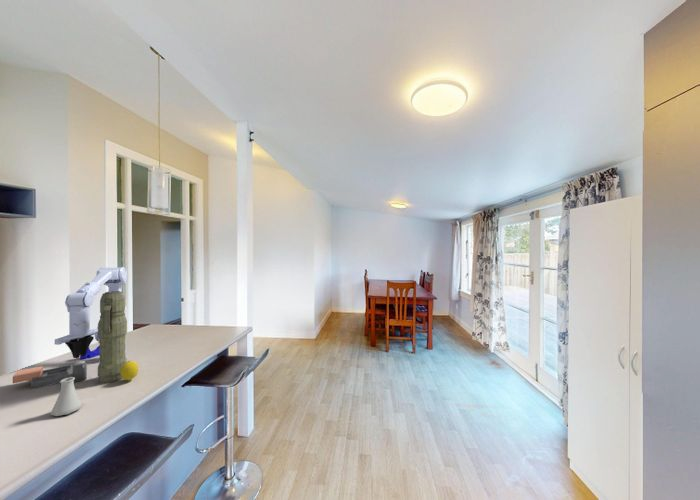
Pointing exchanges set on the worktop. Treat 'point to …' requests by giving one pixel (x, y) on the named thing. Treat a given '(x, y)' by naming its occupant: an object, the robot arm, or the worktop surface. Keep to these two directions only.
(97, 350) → the blue notched block
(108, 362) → the green stone statue
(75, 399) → the flask
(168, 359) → the worktop surface
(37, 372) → the orange square block
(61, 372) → the socket plate
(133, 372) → the lemon
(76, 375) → the plug
